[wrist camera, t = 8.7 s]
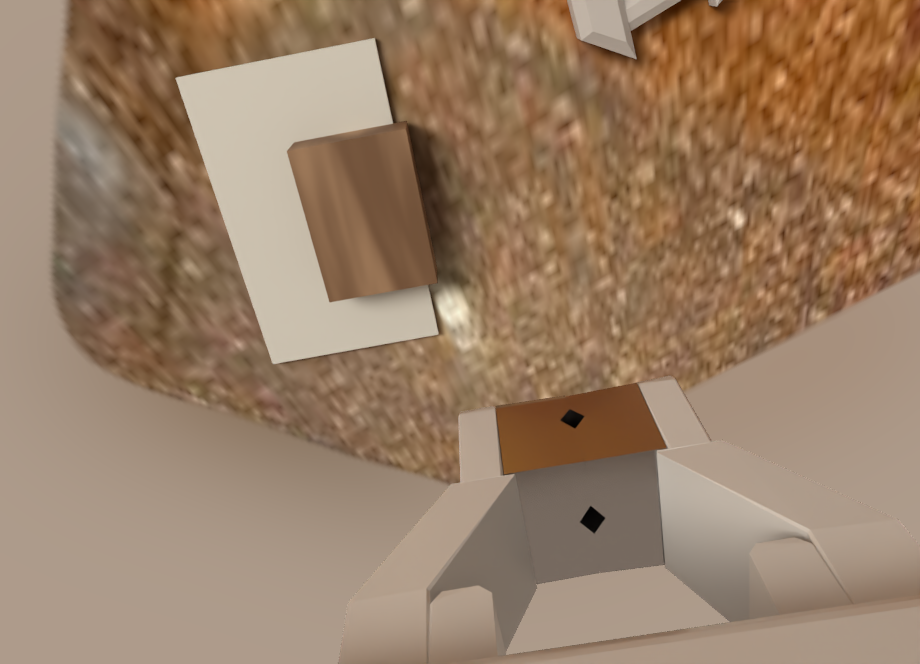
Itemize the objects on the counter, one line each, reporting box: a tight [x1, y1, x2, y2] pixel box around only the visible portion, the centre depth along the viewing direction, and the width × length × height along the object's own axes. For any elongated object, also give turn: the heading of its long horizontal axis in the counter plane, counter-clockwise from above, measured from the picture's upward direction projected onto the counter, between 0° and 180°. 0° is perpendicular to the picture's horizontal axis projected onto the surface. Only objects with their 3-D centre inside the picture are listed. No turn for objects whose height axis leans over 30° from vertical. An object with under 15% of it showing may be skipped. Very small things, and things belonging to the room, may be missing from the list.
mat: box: [176, 38, 439, 364], centre depth 43 cm, size 11×18×1 cm, turn 10°
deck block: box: [287, 121, 438, 302], centre depth 41 cm, size 2×9×6 cm
